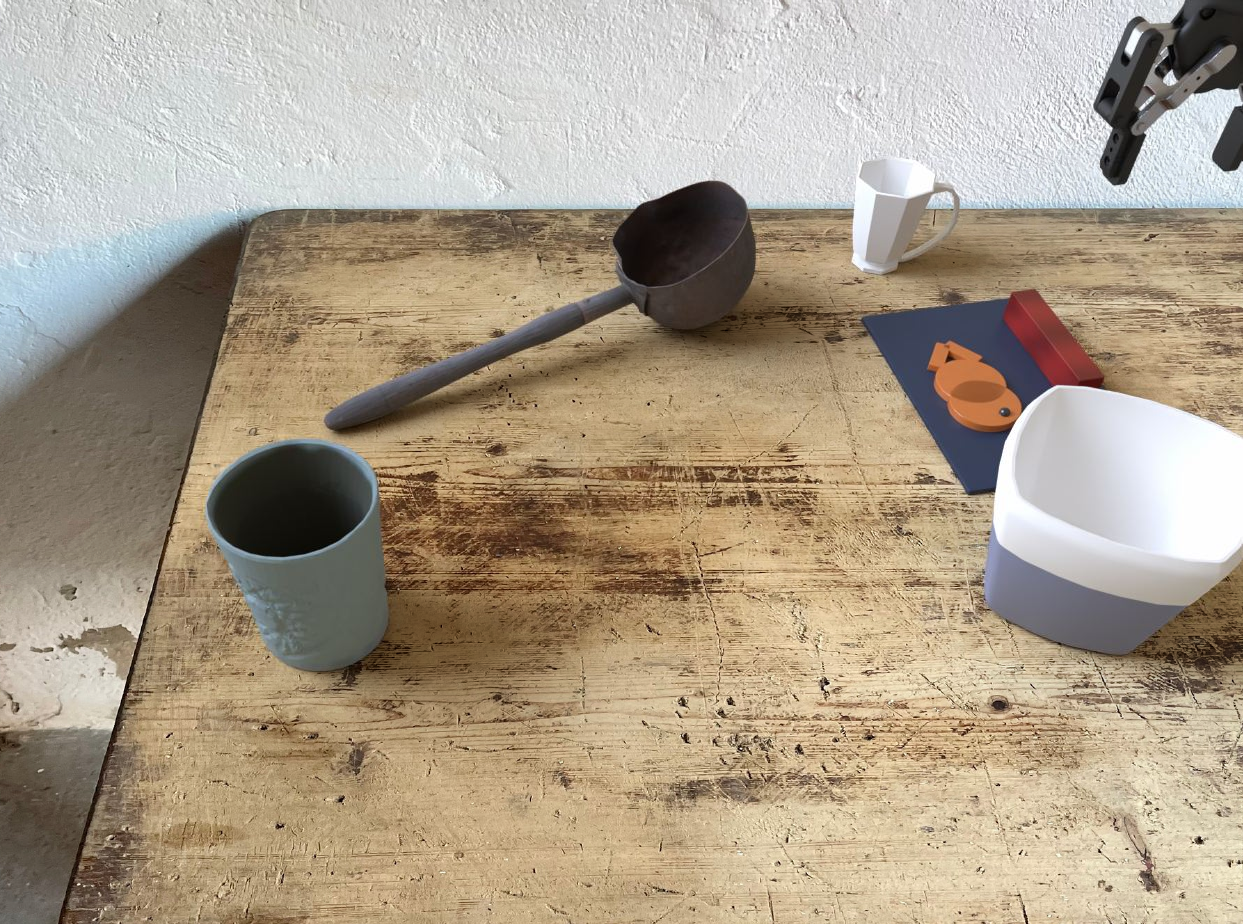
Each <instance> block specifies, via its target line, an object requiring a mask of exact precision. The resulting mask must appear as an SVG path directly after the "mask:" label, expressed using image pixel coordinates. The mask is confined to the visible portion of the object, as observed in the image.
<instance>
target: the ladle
mask: <svg viewBox="0 0 1243 924" xmlns="http://www.w3.org/2000/svg"><path fill="white" fill-rule="evenodd" d="M754 234H755V233H754V229H753V224H752V220H751V216H750V212H749V207H748V205H747V201H746V199H745V197H743V196H742V195H741V194H740V193H739V192H738V191H737V190H736V189H735V188H734V187H732V186H731V185H730V184H729V183H727V182H725V181H722V180H702V181H697V182H695V183H691V184H689V185H686V186H684V187H681V188H678V189H675V190H673V191H670V192H668V193H666V194H664V195H662V196H659V197H658V198H654V199H650V200H647V201H643V202H642V203H640V204H638V205H637V207H635V209H634V210H633V211H632V212H631V213H630V214H629V215H628V216H627V217H626V218H625V219H624V220H623V222H622V223H621V224H620V225H619V226H618V227H617V229H616V231H615V232H614V233H613V236H612V239H611V245H612V247H613V250H614V252H615V255H616V257H617V260H618V261H615V262H614V267H615V273H616V275H617V279H618V281H619V283H620V285H618V286H614V287H612V288H610V289H607V290H605V291H602V292H599V293H597V294H595V295H592V296H589V297H587V298H584V299H581V300H579V301H574V302H571V303H568V304H566V305H564V306H561V307H559V308H556V309H554V310H551V311H549V312H547V313H544V314H541V315H539V316H537V317H536V318H533V320H531V321H529V322H527V323H526V324H523V325H522V326H520V327H518V328H516V329H514V330H512V331H510V332H509V333H506V334H504V335H502V336H499V337H498V338H495V339H493V340H491V341H487V342H486V343H482V344H481V345H478V346H476V347H473V348H470V349H468V350H466V351H463V352H460V353H458V354H455V355H452V356H450V357H447V358H445V359H443V360H440V361H437V362H435V363H432V364H430V365H427V366H424V367H421V368H418V369H416V370H414V371H411V372H407V373H406V374H403V375H400V376H398V377H395V378H392V379H390V380H388V381H386V382H383V383H381V384H378V385H377V386H374V387H371V388H369V389H367V390H365V391H363V392H361V393H359V394H357V395H355V396H352V397H351V398H349V399H347V400H345V401H344V402H342V403H340V404H338V405H336V406H335V407H334V408H332V409H331V410H329V412H327V414H326V415H325V416H324V418H323V423H324V425H325V427H326V428H327V429H329V430H331V431H337V430H343V429H347V428H350V427H351V428H352V427H355V426H358V425H362V424H364V423H367V422H370V421H374V420H376V419H380V418H382V417H384V416H386V415H389V414H391V413H393V412H396V411H398V410H400V409H402V408H405V407H406V406H409V405H411V404H412V403H415V402H417V401H419V400H421V399H423V398H426V397H427V396H429V395H431V394H434V393H435V392H437V391H439V390H441V389H443V388H445V387H448V386H449V385H451V384H453V383H455V382H457V381H459V380H461V379H464V378H465V377H467V376H469V375H471V374H473V373H475V372H477V371H479V370H481V369H484V368H486V367H488V366H490V365H493V364H494V363H497V362H499V361H501V360H503V359H506V358H508V357H510V356H513V355H515V354H517V353H519V352H522V351H525V350H529V349H531V348H533V347H536V346H540V345H543V344H546V343H549V342H552V341H554V340H557V339H559V338H561V337H563V336H565V335H567V334H569V333H572V332H574V331H576V330H578V329H580V328H582V327H583V326H586V325H588V324H590V323H592V322H594V321H597V320H598V319H600V318H603V317H605V316H607V315H609V314H612V313H614V312H616V311H619V310H620V309H623V308H625V307H628V306H630V305H633V304H634V305H635V307H636V308H637V310H638V312H639V313H640V314H642V315H643V316H645V317H648V318H649V319H651V320H652V321H654V322H656V323H658V324H659V325H661V326H664V327H666V328H668V329H669V328H670V329H675V330H696V329H699V328H703V327H705V326H708V325H710V324H713V323H716V322H718V321H720V319H722V318H724V316H726V315H728V314H729V313H730V312H732V310H734V309H735V307H736V306H737V305H738V304H739V303H740V302H741V300H742V299H743V298H744V296H745V295H746V294H747V292H748V290H749V288H750V287H751V285H752V282H753V280H754V275H755V271H756V265H757V264H756V263H757V243H756V238H755V235H754Z"/></svg>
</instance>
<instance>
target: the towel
mask: <svg viewBox="0 0 1243 924" xmlns="http://www.w3.org/2000/svg"><path fill="white" fill-rule="evenodd" d="M1009 298H1010V297H1006V298H997V299H990V300H989V299H988V300H983V301H982V300H981V301H974V302H973V301H972V302H967V303H958V304H951V305H949V304H948V305H942V306H934V307H926V308H919V309H910V310H903V311H894V312H885V313H878V314H871V315H863V316H861V319H860V321H861V323H862V324H863V326H864V327H865V329H866V331H867V332H868V334H869V336H870V338H871V339H872V340H873V342H874V344H875V346H876V347H877V348H878V351H879V352H880V354H881V356H882V357H883V358H884V360H885V362H886V363H887V366H888V367H889V368H890V370H891V372H892V373H893V375H894V376H895V378H896V380H897V381H898V383H899V384H900V386H901V388H902V389H903V391H904V393H905V394H906V396H907V398H908V399H909V401H910V403H911V404H912V406H913V407H914V409H915V411H916V413H917V414H918V415H919V417H920V419H921V421H922V423H923V424H924V425H925V428H926V429H927V430H928V432H929V434H930V435H931V437H932V438H933V440H934V442H935V443H936V445H937V447H938V449H939V450H940V451H941V454H942V455H943V457H944V458H945V460H946V461H947V463H948V465H949V467H950V468H951V469H952V471H953V474H954V475H955V476H956V478H957V480H958V481H959V483H960V484H961V486H962V487H963V489H964V491H965V492H966V494H967V496H970V495H976V494H977V495H978V494H984V493H989V492H996V486H997V479H998V472H999V466H1000V461H1001V457H1002V453H1003V449H1004V445H1005V442H1006V440H1007V438H1008V436H1009V434H1010V432H1011V430H1012V428H1013V427H1011V428H1010V429H1007V430H1005V431H1001V432H981V431H976V430H973V429H970V428H968V427H966V426H964V425H962V424H960V423H959V422H958V421H956V420H955V419H954V418H953V417H952V415H951V414H950V412H949V410H948V406H947V402H946V401H945V400H944V399H942V398H941V397H940V396H939V395H938V393H937V392H936V390H935V387H934V378H935V375H936V372H935V371H931V370H927V368H928V365H929V362H930V359H931V357H932V354H933V351H934V348H935V346H936V343H937V342H938V343H942V344H946V343H947V342H949V341H952V342H954V343H956V344H958V345H960V346H962V347H964V348H966V349H968V350H970V351H972V352H974V353H976V354H978V355H980V356H982V357H983V358H982V361H981V362H982V363H984V364H987V365H989V366H991V367H993V368H994V369H996V370H997V371H998V372H999V373H1000V374H1001V375H1002V376H1003V378H1004V379H1005V382H1006V388H1007V389H1009V390H1010V391H1012V392H1013V393H1014V394H1015V395H1016V396H1017V397H1018V399H1019V400H1020V403H1021V407H1022V411H1021V414H1022V413H1023V412H1024V410H1025V409H1026V408H1027V406H1028V405H1029V404H1030V403H1032V402H1033V401H1034V400H1035V399H1037V398H1038V397H1039V396H1041V395H1042V394H1043V393H1045V392H1046V391H1047V390H1049V389H1051V388H1053V386H1052V384H1051V383H1050V382H1049V380H1048V379H1047V377H1046V376H1045V375H1044V373H1043V372H1042V371H1041V369H1040V368H1039V367H1038V365H1037V364H1036V363H1035V361H1034V360H1033V359H1032V357H1031V356H1030V355H1029V353H1028V352H1027V351H1026V349H1025V348H1024V347H1023V345H1022V344H1021V343H1020V341H1019V340H1018V339H1017V337H1016V336H1015V334H1014V333H1013V332H1012V330H1011V329H1010V328H1009V326H1008V325H1007V324H1006V322H1005V321H1004V320H1003V318H1002V317H1003V314H1004V311H1005V309H1006V306H1007V303H1008V301H1009ZM954 360H955V359H953V358H951V357H949V356H947V359H946V362H945V363H947V362H950V361H954ZM1100 389H1101V390H1107V391H1109V390H1108V389H1107V388H1106V386H1105V385H1104V384H1103V383H1102V385H1101V387H1100ZM1021 414H1020V415H1021Z"/></svg>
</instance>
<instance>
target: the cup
mask: <svg viewBox="0 0 1243 924" xmlns="http://www.w3.org/2000/svg"><path fill="white" fill-rule="evenodd" d="M859 164H860V165H859V168H858V172H857V175H856V179H855V180H856V181H855V192H854V207H853V219H852V251H853V255H852V258H851V263H852V264H854V266H855V267H856V268H858V269H859V270H860V271H861V272H864V273H869V274H874V275H880V276H882V275H886V274H888V273H891V272H894V271H897V270H898V266H899V263H904V262H905V263H906V262H907V261H910V260H913V259H915V258H917V257H919V256H921V255H923V254H924V253H926V252H929V250H931V249H933V248H934V247H936V246H938V245H939V244H941V243H942V242H943V241H944V240H946V238H947V237H949V236H950V235H951V233H952V232H953V230H954V229H955V227H956V225H957V224H958V221H959V220H958V219H959V216H960V208H961V206H960V203H961V200H960V197H959V195H958V194H957V192H956V191H955V190H956V189H954V186H953V185H951V184H950V183H946V182H936V180H937V174H936V173H935V172H933V171H932V170H930V169H929V168H927V166H925V165H923V164H922V163H921V162H919V161H918V160H916V159H910V158H903V157H899V156H898V157H897V156H891V155H883V156H879V157H875V158H873V159H872V158H871V159H869V160H866V161H862V162H860V163H859ZM945 192H947V193H949V194H951V195H952V197H953V207H952V208H953V209H952V212H951V213H952V214H951V218H950V220H949V221H948V223H947V224H946V226H945V228H943V229H942V230H941V231H940V232H939V233H937V234H936V235H935V236H934V237H932V238H930V239H929V240H927V241H925V242H924V243H922V244H921V245H919V246H918V247H916V248H913V249H911V250H909V251H907V252H906V250H907V248H908V247H909V245H910V243H911V242H912V240H913V238H914V237H915V236H914V235H915V233H916V231H917V229H918V226H919V224H920V221H921V219H922V217H923V216H924V213H925V211H926V209H927V206H928V205H929V202H930V201H931V198H932V196H933V195H937V194H940V193H945Z"/></svg>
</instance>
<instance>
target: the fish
mask: <svg viewBox="0 0 1243 924" xmlns="http://www.w3.org/2000/svg"><path fill="white" fill-rule="evenodd" d="M947 356H949V357H951V358H953V359H955V360H954V361H950V362H947V363H945V362H946V359H947ZM982 358H983V357H982V356H980V355H978V354H976V353H974V352H972V351H970V350H968V349H966V348H964V347H962V346H960V345H958V344H956V343H954V342H952V341H949V342H947V343H946V344H942V343H938V342H937V343H936V346H935V348H934V351H933V354H932V357H931V359H930V362H929V365H928V368H927V370H931V371H935V372H936V375H935V378H934V387H935V390H936V392H937V393H938V395H939V396H940V397H941V398H942V399H944V400H945V401H946V402H947V406H948V410H949V412H950V414H951V415H952V417H953V418H954V419H955V420H956V421H958V422H959V423H960V424H962V425H964V426H966V427H968V428H970V429H973V430H976V431H981V432H1001V431H1005V430H1007V429H1010V428H1011V427H1013V426H1014V424H1015V422H1016V421H1017V419H1018V418H1019V417H1020V414H1021V411H1022V407H1021V403H1020V400H1019V399H1018V397H1017V396H1016V395H1015V394H1014V393H1013V392H1012V391H1010V390H1009V389H1007V388H1006V382H1005V379H1004V378H1003V376H1002V375H1001V374H1000V373H999V372H998V371H997V370H996V369H994V368H993V367H991V366H989V365H987V364H984V363H982V362H981V361H982Z"/></svg>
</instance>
